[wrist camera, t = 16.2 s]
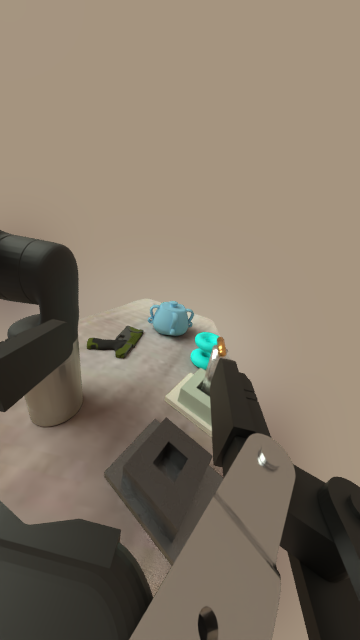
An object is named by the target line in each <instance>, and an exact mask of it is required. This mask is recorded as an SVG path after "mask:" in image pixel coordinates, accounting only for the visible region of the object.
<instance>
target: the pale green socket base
mask: <svg viewBox="0 0 360 640" xmlns="http://www.w3.org/2000/svg"><path fill="white" fill-rule="evenodd" d="M205 373H206V371H205V370H204V369H202V368H200V369H199V370H198V371H197V372H196V373H195V374H194V375H193V374H192V373H189V374H188V375H187V376H186V377H185V378H184V379H183V380H182V381H181V382H180V383H179V384H178V385H177V386H176V387H175V388H174V389H173V390H172V391H171V392H169V393H168V394H167V395H166V396H165V401H166V402H167V403H168V404H170V405H171V406H172V407H173V408H175V409H176V410H177V411H179V412H180V413H181V414H182V415H184V416H185V417H186V418H188V419H189V420H190V421H191V422H193V423H194V424H195V425H197V426H198V427H199V428H200V429H202V430H203V431H204V432H206V433H207V434H208V435H209V436H211V437H212V424H211V406H210V397H209V396H208V395H206V394H205V393H203V392H202V391H200V390H201V387H202V384H203V380H204V377H205Z"/></svg>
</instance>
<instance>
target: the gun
mask: <svg viewBox="0 0 360 640" xmlns="http://www.w3.org/2000/svg"><path fill="white" fill-rule="evenodd" d="M142 334H143V330H138V329H135V328H133V327H130V326H126V328H125V329H124V330H123V331H122V332H121V333H120V334H119V335H118V336H117V337H116V339H115V340H102V339H98V338H89V339H88V342H87V349H100V350H107V349H114V350H115V352H116V357H117V358H125V356H126V355H127V354H128V352H129V351H130V349H131V348H132V347H135V344H136V343H137V341H138V340H139V338H140V337H141V335H142ZM120 337H123V338H120Z"/></svg>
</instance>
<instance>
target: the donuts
mask: <svg viewBox="0 0 360 640" xmlns="http://www.w3.org/2000/svg"><path fill="white" fill-rule="evenodd" d="M218 337H219V336H217V335H215V334H213V333H209V332H202V333H199V334H198V335H197V336H196V337H195V343H196V345H197V346H198V347H199V348H198V349H195V350H194V351H193V352H192V353H191V361H192V362H193V364H194V365H196V366H197V367H198V368H202V369H204V370H207V366H208V363H209V359H210V356H211V352H212V349H213V346H214V345H217V338H218Z"/></svg>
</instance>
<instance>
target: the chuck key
mask: <svg viewBox="0 0 360 640" xmlns="http://www.w3.org/2000/svg"><path fill="white" fill-rule="evenodd" d="M227 352H228V350H227V349H226V348H225V343H224V339H223V338H222V337H218V338H217V345H214V346H213V349H212V352H211V356H210V359H209V363H208V366H207V370H206V373H205V377H204V380H203V384H202V387H201V390H200V391H202V392H203V393H205V394H206V395H208V396H209V397H210V385H211V380H212V377H213V375H214V372H215V369H216V366H217V363H218V361H219V359H220V358H224V359H225V358H226V355H227Z"/></svg>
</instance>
